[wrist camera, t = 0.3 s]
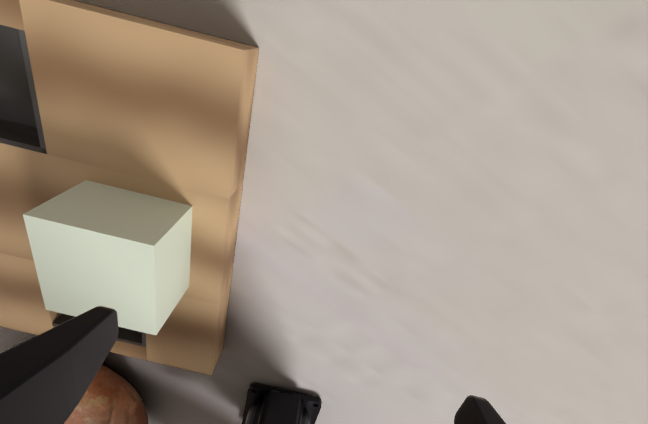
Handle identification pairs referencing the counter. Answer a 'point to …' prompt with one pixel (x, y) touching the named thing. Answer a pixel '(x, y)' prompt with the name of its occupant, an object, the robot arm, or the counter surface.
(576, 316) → the counter surface
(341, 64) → the counter surface
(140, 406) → the ceramic jug
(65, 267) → the block
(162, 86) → the toy board
